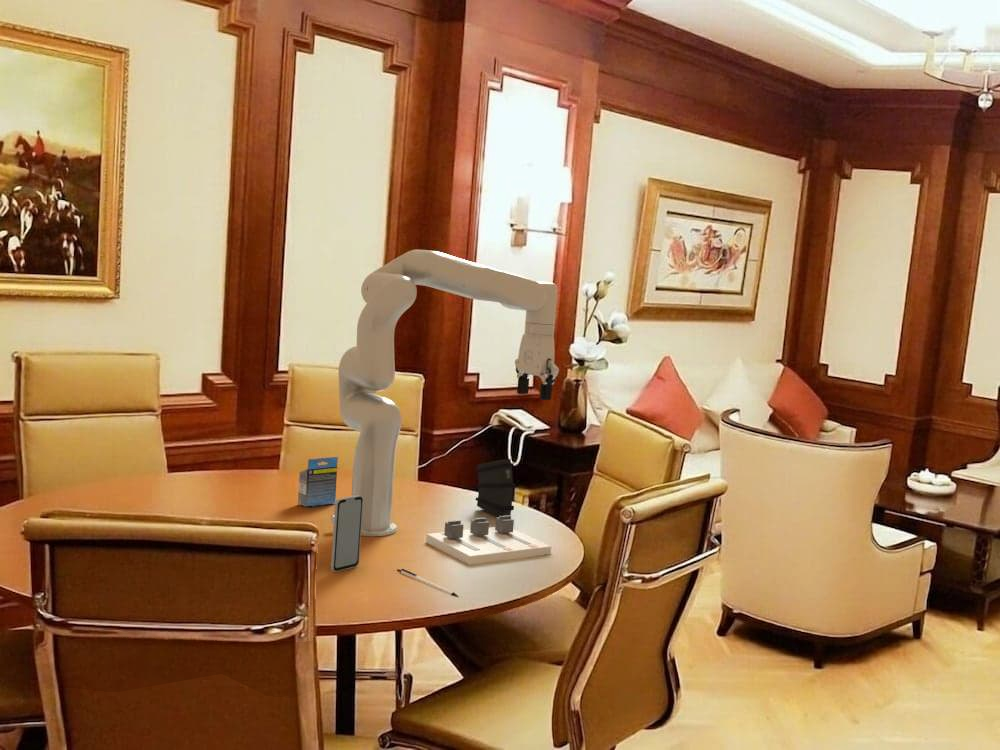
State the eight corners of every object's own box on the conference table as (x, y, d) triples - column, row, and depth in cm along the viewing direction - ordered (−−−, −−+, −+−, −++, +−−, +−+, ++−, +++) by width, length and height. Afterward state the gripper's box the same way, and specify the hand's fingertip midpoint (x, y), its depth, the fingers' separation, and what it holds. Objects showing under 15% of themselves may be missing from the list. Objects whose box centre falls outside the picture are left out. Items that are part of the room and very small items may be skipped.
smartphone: (332, 572, 205) (337, 500, 203) (329, 571, 205) (333, 499, 204) (358, 566, 211) (363, 495, 209) (355, 564, 211) (360, 494, 210)
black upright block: (508, 519, 254) (501, 459, 256) (477, 523, 264) (470, 465, 267) (520, 517, 257) (512, 458, 259) (489, 521, 267) (482, 465, 269)
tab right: (502, 533, 236) (503, 518, 235) (495, 529, 238) (496, 514, 238) (512, 532, 238) (514, 517, 237) (505, 528, 240) (506, 513, 240)
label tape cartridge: (327, 500, 263) (330, 453, 261) (335, 504, 260) (338, 456, 258) (297, 504, 257) (300, 456, 255) (305, 507, 254) (308, 459, 252)
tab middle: (477, 536, 232) (478, 520, 231) (470, 532, 234) (471, 517, 234) (488, 534, 234) (489, 519, 233) (480, 531, 236) (482, 516, 236)
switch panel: (469, 565, 217) (470, 555, 217) (426, 542, 232) (426, 533, 232) (550, 554, 230) (551, 545, 230) (504, 533, 245) (505, 525, 244)
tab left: (451, 538, 228) (452, 523, 227) (444, 535, 230) (445, 519, 230) (462, 537, 230) (463, 522, 229) (455, 534, 232) (456, 518, 232)
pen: (399, 571, 210) (399, 566, 210) (460, 598, 196) (460, 593, 196) (396, 572, 209) (396, 567, 209) (456, 599, 196) (457, 594, 196)
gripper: (507, 326, 265) (502, 391, 266) (548, 333, 251) (542, 402, 252) (530, 327, 269) (525, 391, 271) (572, 334, 255) (566, 401, 257)
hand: (533, 396), depth 262 cm, fingers open, 9 cm apart
